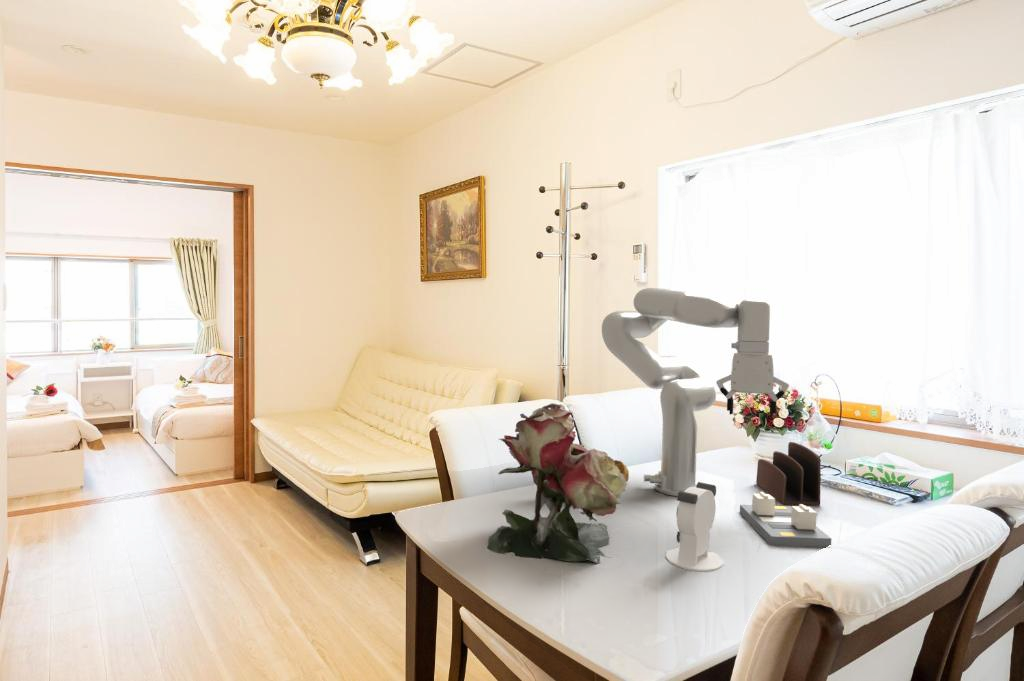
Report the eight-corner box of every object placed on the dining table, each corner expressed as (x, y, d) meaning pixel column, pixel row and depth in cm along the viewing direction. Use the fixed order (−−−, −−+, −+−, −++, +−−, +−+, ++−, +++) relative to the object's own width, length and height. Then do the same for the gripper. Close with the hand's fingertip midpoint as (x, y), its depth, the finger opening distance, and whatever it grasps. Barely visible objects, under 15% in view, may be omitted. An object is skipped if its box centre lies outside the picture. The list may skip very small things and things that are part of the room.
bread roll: (579, 481, 188) (580, 454, 187) (596, 475, 196) (597, 449, 195) (618, 490, 180) (619, 462, 179) (634, 483, 188) (635, 456, 187)
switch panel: (771, 545, 141) (771, 535, 141) (739, 512, 163) (740, 504, 163) (830, 547, 141) (831, 538, 140) (791, 514, 163) (791, 506, 162)
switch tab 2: (797, 529, 145) (798, 509, 145) (790, 522, 149) (791, 503, 149) (815, 529, 145) (816, 509, 145) (808, 523, 149) (809, 504, 149)
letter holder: (789, 485, 190) (791, 438, 189) (820, 506, 170) (823, 454, 169) (755, 484, 190) (757, 437, 189) (782, 505, 170) (785, 453, 169)
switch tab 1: (757, 514, 154) (758, 496, 154) (752, 509, 158) (752, 491, 158) (774, 515, 154) (775, 496, 154) (768, 510, 158) (769, 491, 158)
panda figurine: (681, 544, 141) (684, 477, 140) (732, 558, 133) (735, 487, 132) (656, 560, 131) (659, 488, 130) (709, 576, 124) (713, 500, 123)
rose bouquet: (622, 568, 127) (628, 419, 125) (480, 553, 133) (483, 411, 131) (625, 525, 152) (630, 400, 150) (506, 514, 158) (508, 393, 156)
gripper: (716, 347, 162) (714, 414, 163) (790, 350, 155) (788, 419, 156) (718, 346, 169) (717, 410, 170) (789, 348, 162) (787, 415, 163)
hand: (751, 415), depth 163 cm, fingers open, 9 cm apart
